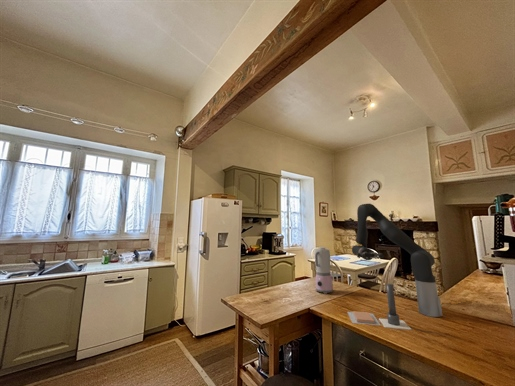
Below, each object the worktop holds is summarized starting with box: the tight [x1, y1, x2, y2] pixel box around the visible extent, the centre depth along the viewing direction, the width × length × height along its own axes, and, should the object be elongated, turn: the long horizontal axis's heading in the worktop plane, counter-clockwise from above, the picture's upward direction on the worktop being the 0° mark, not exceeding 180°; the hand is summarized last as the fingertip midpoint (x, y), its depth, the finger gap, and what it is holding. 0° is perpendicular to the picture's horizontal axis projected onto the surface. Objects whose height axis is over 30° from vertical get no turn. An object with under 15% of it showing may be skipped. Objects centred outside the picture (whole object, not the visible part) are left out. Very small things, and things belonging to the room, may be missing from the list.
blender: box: [314, 246, 334, 295], centre depth 156 cm, size 16×12×32 cm
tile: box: [352, 310, 375, 325], centre depth 108 cm, size 8×2×10 cm
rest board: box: [378, 318, 412, 331], centre depth 101 cm, size 11×9×1 cm
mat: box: [347, 311, 381, 326], centre depth 109 cm, size 13×14×1 cm
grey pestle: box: [385, 283, 401, 326], centre depth 103 cm, size 5×5×18 cm
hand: (373, 256), depth 123 cm, fingers open, 8 cm apart
